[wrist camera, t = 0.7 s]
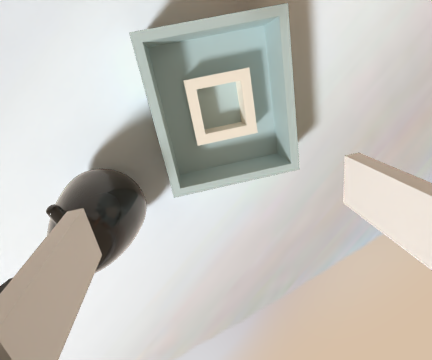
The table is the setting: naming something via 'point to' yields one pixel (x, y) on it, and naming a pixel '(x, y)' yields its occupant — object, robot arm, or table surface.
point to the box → (221, 97)
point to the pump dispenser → (104, 209)
